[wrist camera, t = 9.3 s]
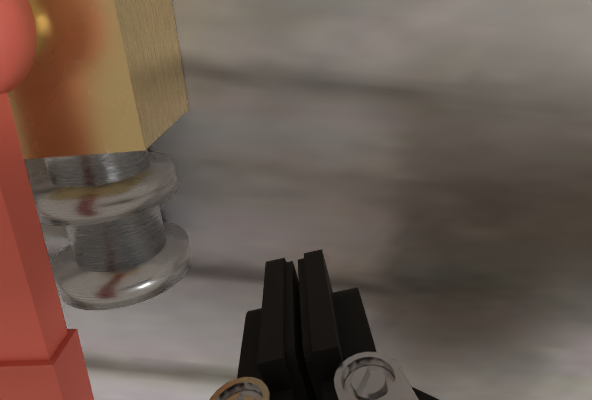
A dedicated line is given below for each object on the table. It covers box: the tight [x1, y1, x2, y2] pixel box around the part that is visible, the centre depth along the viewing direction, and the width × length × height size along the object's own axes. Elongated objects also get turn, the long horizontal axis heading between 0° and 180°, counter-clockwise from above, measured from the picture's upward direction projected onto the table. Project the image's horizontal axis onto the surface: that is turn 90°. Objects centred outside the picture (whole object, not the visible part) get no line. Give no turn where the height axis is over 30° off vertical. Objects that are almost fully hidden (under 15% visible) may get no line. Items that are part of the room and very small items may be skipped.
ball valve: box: [7, 0, 191, 310], centre depth 14 cm, size 7×22×9 cm, turn 3°
